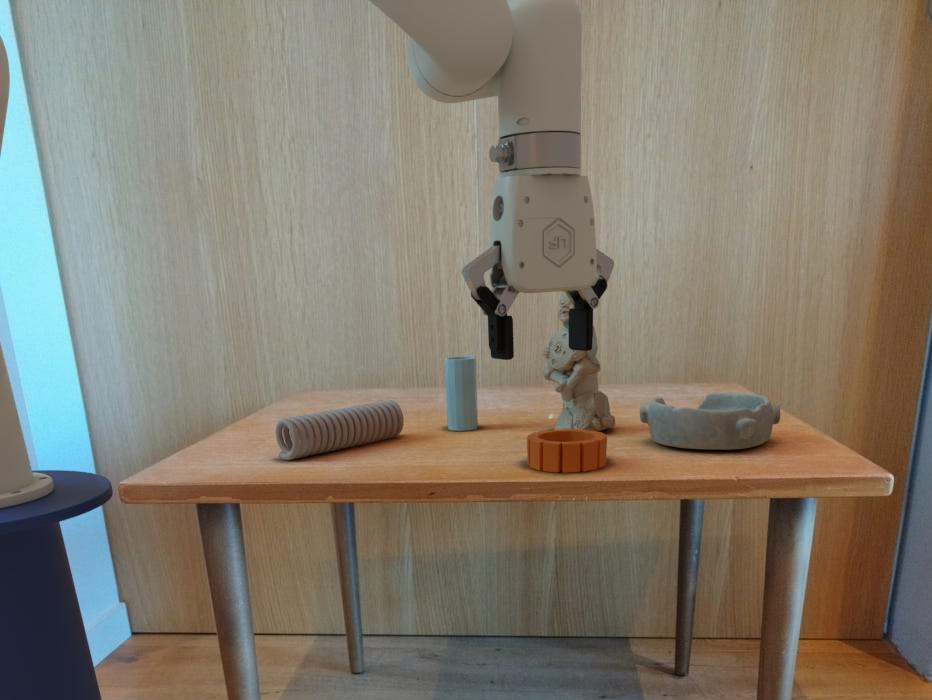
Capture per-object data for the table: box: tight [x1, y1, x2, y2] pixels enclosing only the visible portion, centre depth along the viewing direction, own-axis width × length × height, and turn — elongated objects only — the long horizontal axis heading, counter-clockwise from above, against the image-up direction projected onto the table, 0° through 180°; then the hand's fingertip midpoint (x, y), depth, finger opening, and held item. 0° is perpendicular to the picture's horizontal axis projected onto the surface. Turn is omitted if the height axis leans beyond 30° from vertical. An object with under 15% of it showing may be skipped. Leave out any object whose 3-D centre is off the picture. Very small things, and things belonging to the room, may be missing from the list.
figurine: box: [541, 291, 617, 432], centre depth 105 cm, size 9×8×20 cm
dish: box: [639, 392, 781, 451], centre depth 99 cm, size 14×14×5 cm
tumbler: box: [444, 355, 479, 432], centre depth 112 cm, size 4×4×9 cm
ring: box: [526, 428, 608, 474], centre depth 91 cm, size 8×8×3 cm
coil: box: [275, 399, 405, 461], centre depth 103 cm, size 5×5×18 cm
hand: (542, 354), depth 85 cm, fingers open, 9 cm apart
